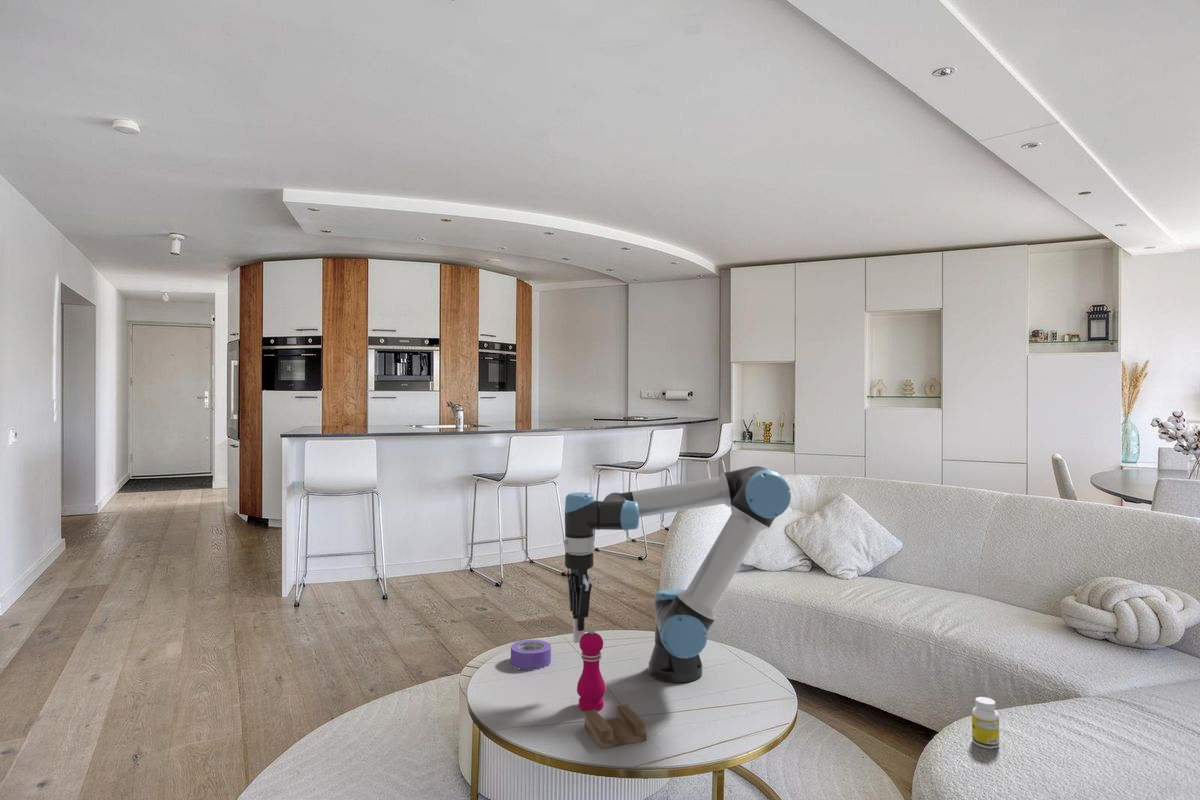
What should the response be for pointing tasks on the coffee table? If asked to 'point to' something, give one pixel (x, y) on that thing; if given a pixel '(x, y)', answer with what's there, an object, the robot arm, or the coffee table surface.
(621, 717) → the cradle
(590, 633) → the pepper mill
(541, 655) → the tape roll
